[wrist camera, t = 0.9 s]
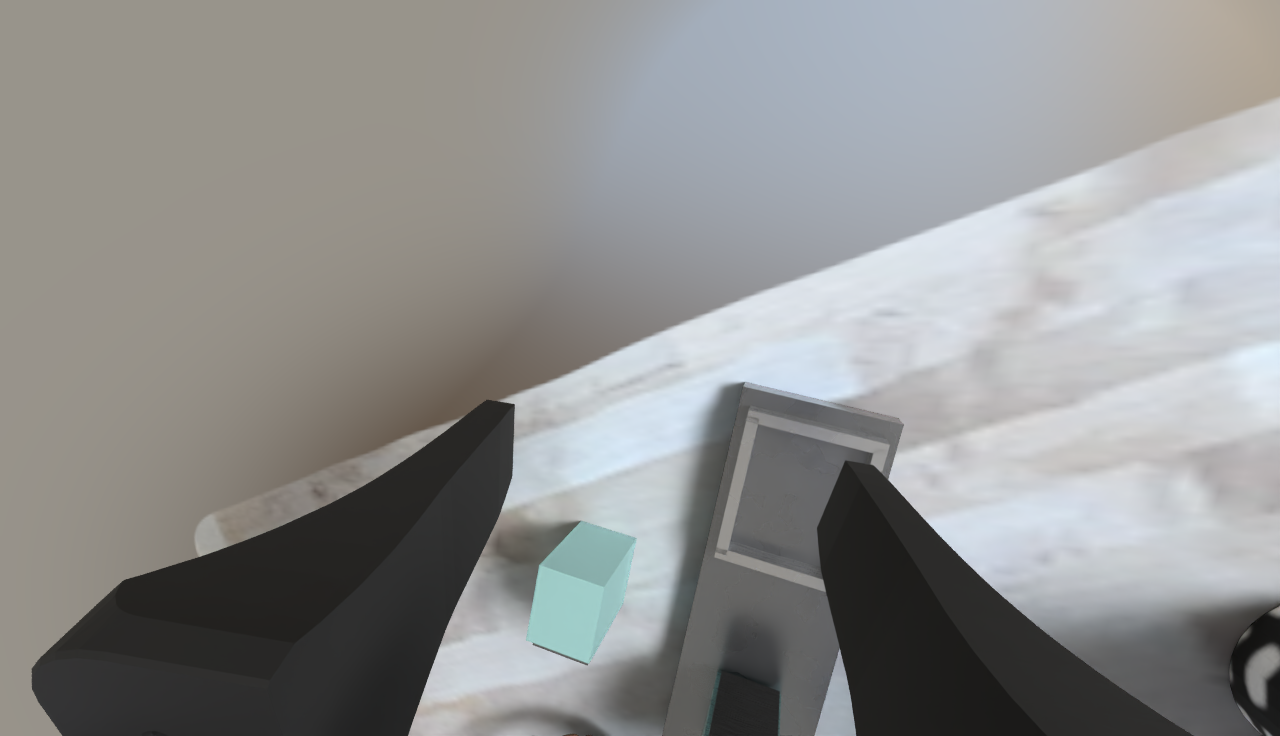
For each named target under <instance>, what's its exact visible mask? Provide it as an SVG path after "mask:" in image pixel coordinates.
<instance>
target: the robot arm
mask: <svg viewBox="0 0 1280 736" xmlns="http://www.w3.org/2000/svg"><path fill="white" fill-rule="evenodd" d="M514 411H515V404H509V403H504V402H498V401H492V400H486V401H485V402H483V403H482V404H480V405H479V406H478V407H476V408H475V409H474V410H472V411H471V412H470V413H468V414H467V415H466V416H465V417H463V418H462V419H461V420H459V421H458V422H457V423H456V424H454V425H453V426H452V427H450V428H449V429H448V430H446V431H445V432H444V433H442V434H441V435H440V436H438V437H437V438H436V439H434V440H433V441H431V442H430V443H429V444H427V445H426V446H425V447H423V448H422V449H420V450H419V451H418V452H416V453H415V454H413V455H412V456H410V457H409V458H407V459H406V460H404V461H403V462H401V463H400V464H398V465H397V466H395V467H394V468H392V469H390V470H389V471H387V472H386V473H384V474H383V475H381V476H380V477H378V478H376V479H375V480H373V481H371V482H370V483H368V484H366V485H364V486H363V487H361V488H359V489H357V490H355V491H353V492H352V493H350V494H348V495H346V496H344V497H342V498H340V499H338V500H337V501H335V502H333V503H331V504H329V505H326V506H324V507H322V508H320V509H318V510H316V511H313V512H311V513H309V514H307V515H305V516H302V517H300V518H298V519H296V520H294V521H292V522H289V523H287V524H285V525H283V526H281V527H278V528H276V529H273V530H271V531H268V532H266V533H263V534H261V535H258V536H256V537H253V538H251V539H248V540H246V541H243V542H240V543H238V544H235V545H232V546H229V547H227V548H224V549H221V550H218V551H216V552H213V553H210V554H207V555H204V556H201V557H198V558H195V559H192V560H188V561H185V562H182V563H179V564H176V565H172V566H169V567H166V568H163V569H159V570H156V571H153V572H150V573H147V574H144V575H140V576H137V577H133V578H130V579H126V580H124V581H122V582H121V583H120V584H119V585H118V586H117V587H116V588H114V589H113V590H112V591H111V592H110V593H109V594H108V595H107V596H106V597H105V598H104V599H102V600H101V601H100V602H99V603H98V604H97V605H96V606H95V607H94V608H93V609H92V610H91V611H90V612H89V613H88V614H86V615H85V616H84V617H83V618H82V619H81V620H80V621H79V622H78V623H77V624H76V625H75V626H74V627H73V628H71V629H70V630H69V631H68V632H67V633H66V634H65V635H64V636H63V637H62V638H61V639H60V640H59V641H58V642H57V643H56V644H54V645H53V646H52V647H51V648H50V649H49V650H48V651H47V652H46V653H45V654H44V655H43V656H42V657H41V658H40V659H39V660H38V661H37V663H36V664H35V665H34V667H33V668H32V690H33V692H34V694H35V696H36V698H37V700H38V702H39V703H40V705H41V706H42V708H43V709H44V710H45V712H46V713H47V715H48V716H49V717H50V719H51V720H52V722H53V723H54V724H55V726H56V727H57V729H58V730H59V731H60V733H61V734H62V736H408V734H409V731H410V728H411V725H412V722H413V719H414V716H415V714H416V711H417V708H418V705H419V702H420V699H421V696H422V694H423V691H424V688H425V685H426V682H427V679H428V677H429V674H430V671H431V668H432V666H433V663H434V660H435V657H436V655H437V652H438V649H439V647H440V644H441V641H442V638H443V636H444V633H445V630H446V628H447V625H448V623H449V621H450V618H451V616H452V614H453V611H454V609H455V607H456V605H457V603H458V600H459V598H460V596H461V594H462V592H463V590H464V588H465V586H466V584H467V582H468V580H469V578H470V576H471V574H472V572H473V570H474V567H475V565H476V563H477V561H478V559H479V557H480V555H481V553H482V551H483V549H484V547H485V545H486V543H487V541H488V538H489V536H490V534H491V532H492V530H493V528H494V526H495V524H496V522H497V519H498V517H499V515H500V512H501V509H502V506H503V503H504V500H505V497H506V494H507V491H508V488H509V485H510V482H511V479H512V469H513V440H514ZM817 536H818V547H819V557H820V565H821V573H822V577H823V582H824V586H825V590H826V594H827V598H828V602H829V607H830V611H831V615H832V619H833V623H834V627H835V631H836V635H837V639H838V643H839V647H840V651H841V655H842V659H843V663H844V667H845V671H846V675H847V680H848V685H849V690H850V695H851V701H852V708H853V715H854V722H855V729H856V736H1193V735H1192V734H1190V733H1189V732H1187V731H1185V730H1184V729H1182V728H1180V727H1179V726H1177V725H1175V724H1174V723H1172V722H1171V721H1169V720H1168V719H1166V718H1164V717H1163V716H1161V715H1160V714H1158V713H1157V712H1155V711H1154V710H1152V709H1151V708H1149V707H1148V706H1146V705H1145V704H1143V703H1142V702H1140V701H1139V700H1137V699H1136V698H1134V697H1133V696H1131V695H1130V694H1128V693H1127V692H1125V691H1124V690H1122V689H1121V688H1120V687H1118V686H1117V685H1115V684H1114V683H1112V682H1111V681H1110V680H1108V679H1107V678H1105V677H1104V676H1102V675H1101V674H1100V673H1098V672H1097V671H1095V670H1094V669H1093V668H1091V667H1090V666H1089V665H1087V664H1086V663H1085V662H1083V661H1082V660H1081V659H1079V658H1078V657H1077V656H1075V655H1074V654H1073V653H1071V652H1070V651H1069V650H1067V649H1066V648H1065V647H1063V646H1062V645H1061V644H1059V643H1058V642H1057V641H1055V640H1054V639H1053V638H1052V637H1050V636H1049V635H1048V634H1046V633H1045V632H1044V631H1043V630H1041V629H1040V628H1039V627H1038V626H1036V625H1035V624H1034V623H1033V622H1032V621H1030V620H1029V619H1028V618H1027V617H1026V616H1025V615H1023V614H1022V613H1021V612H1020V611H1019V610H1018V609H1016V608H1015V607H1014V606H1013V605H1012V604H1010V603H1009V602H1008V601H1007V600H1006V599H1005V598H1003V597H1002V596H1001V595H1000V594H999V593H998V592H997V591H996V590H994V589H993V588H992V587H991V586H990V585H989V584H988V583H987V582H986V581H985V580H984V579H983V578H982V577H980V576H979V575H978V574H977V573H976V572H975V571H974V570H973V569H972V568H971V567H970V566H969V565H968V564H967V563H966V562H965V561H964V560H963V559H962V558H961V557H960V556H959V555H958V554H957V553H956V552H955V551H954V550H953V549H952V548H951V547H950V546H949V545H948V544H947V543H946V542H945V541H944V540H943V539H942V538H941V537H940V536H939V535H938V534H937V533H936V532H935V530H934V529H933V528H932V527H931V526H930V525H929V524H928V523H927V522H926V521H925V520H924V519H923V518H922V517H921V515H920V514H919V513H918V512H917V511H916V510H915V509H914V508H913V507H912V506H911V505H910V503H909V502H908V501H907V500H906V499H905V498H904V497H903V496H902V495H901V494H900V492H899V491H898V490H897V489H896V488H895V487H894V486H893V485H892V484H891V483H890V482H889V480H888V479H887V478H886V477H885V476H884V475H883V474H882V473H881V472H880V471H879V470H878V469H877V468H876V467H875V466H874V465H870V464H864V463H858V462H853V461H847V460H845V462H844V464H843V467H842V469H841V472H840V474H839V476H838V479H837V481H836V484H835V486H834V488H833V491H832V493H831V495H830V498H829V500H828V503H827V505H826V507H825V510H824V512H823V515H822V517H821V519H820V522H819V524H818V527H817Z"/></svg>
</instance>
